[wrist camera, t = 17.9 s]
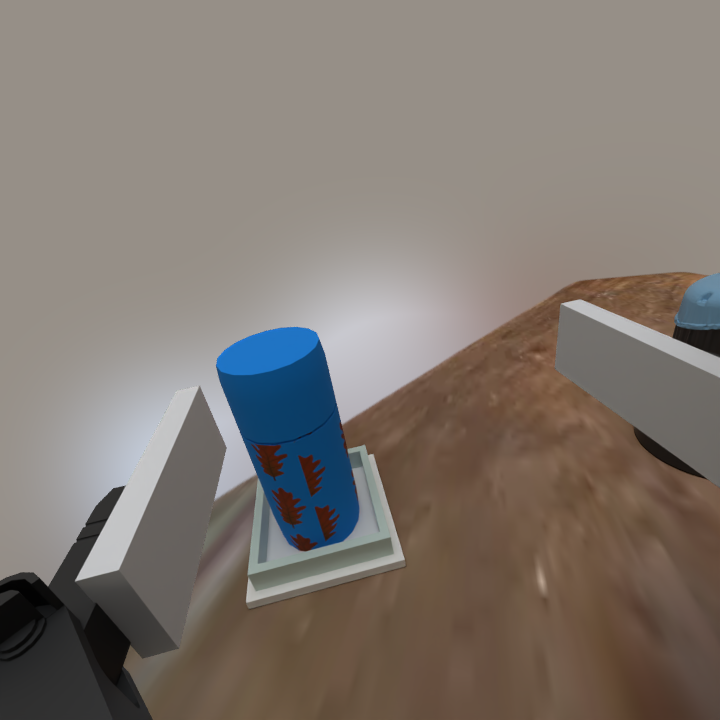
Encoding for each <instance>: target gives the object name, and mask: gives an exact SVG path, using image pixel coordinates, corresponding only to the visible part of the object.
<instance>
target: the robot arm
mask: <svg viewBox="0 0 720 720" xmlns="http://www.w3.org/2000/svg"><path fill="white" fill-rule="evenodd" d="M674 323H676V326H675V330H674V334H673V337H672V338H671V337H669V336H667V335H664V334H662V333H659V332H657V331H655V330H652V329H650V328H647V327H645V326H643V325H640V324H638V323H635V322H633V321H631V320H628V319H626V318H623V317H621V316H619V315H616V314H614V313H611V312H609V311H607V310H604V309H602V308H600V307H597V306H595V305H592V304H590V303H588V302H585V301H583V300H575V301H571V302H567V303H562V304H561V306H560V317H559V328H558V339H557V349H556V360H555V369H556V370H557V371H558V372H560V373H561V374H563V375H564V376H565V377H567V378H568V379H569V380H571V381H572V382H574V383H575V384H576V385H578V386H579V387H581V388H582V389H583V390H585V391H586V392H588V393H589V394H590V395H592V396H593V397H594V398H596V399H597V400H599V401H600V402H601V403H603V404H604V405H606V406H607V407H608V408H610V409H611V410H612V411H614V412H615V413H617V414H618V415H619V416H621V417H622V418H624V419H625V420H626V421H628V422H629V423H631V424H632V425H633V426H634V431H635V434H636V436H637V438H638V440H639V441H640V443H641V444H642V445H643V446H644V447H645V448H646V449H647V450H648V451H649V452H651V453H652V454H653V455H655V456H656V457H658V458H659V459H661V460H663V461H664V462H666V463H668V464H670V465H672V466H674V467H676V468H678V469H681V470H683V471H686V472H689V473H692V474H695V475H698V476H701V477H705V478H707V479H708V480H710V481H711V482H712V483H714V484H715V485H717V486H718V487H719V488H720V273H717V274H713V275H710V276H707V277H704V278H702V279H700V280H698V281H697V282H695V283H693V284H692V285H691V286H690V287H689V288H688V289H687V290H686V292H685V294H684V297H683V300H682V303H681V306H680V309H679V312H678V313H677V314H676V316H675V320H674ZM225 452H226V445H225V443H224V441H223V438H222V436H221V434H220V431H219V429H218V427H217V425H216V423H215V420H214V418H213V415H212V413H211V411H210V409H209V406H208V404H207V402H206V399H205V397H204V395H203V392H202V390H201V388H200V386H196V387H192V388H187V389H182V390H178V391H176V393H175V395H174V397H173V399H172V401H171V402H170V404H169V406H168V408H167V410H166V412H165V414H164V416H163V417H162V420H161V421H160V423H159V425H158V427H157V429H156V431H155V432H154V434H153V436H152V438H151V440H150V442H149V444H148V446H147V447H146V449H145V451H144V453H143V455H142V457H141V459H140V461H139V462H138V464H137V466H136V468H135V470H134V472H133V474H132V475H131V477H130V479H129V481H128V483H127V485H126V486H122V487H118V488H113V489H112V490H111V491H110V492H109V493H108V495H107V496H106V497H104V498H103V499H102V501H100V502H99V503H98V505H97V506H96V507H95V509H94V510H93V512H92V514H91V515H90V517H89V519H88V521H87V522H86V527H84V528H83V529H82V531H81V532H80V534H79V536H78V537H77V542H76V543H74V544H73V546H72V547H71V549H70V551H69V552H68V554H67V556H66V558H65V559H64V561H63V563H62V564H61V566H60V568H59V569H58V571H57V573H56V574H55V576H54V578H53V580H52V581H51V583H50V585H49V586H47V585H46V584H45V583H44V582H43V581H42V580H41V579H40V578H39V577H37V575H35V574H34V573H24V572H23V573H19V574H16V575H13V576H10V577H7V578H5V579H3V580H1V581H0V720H153V719H152V717H151V715H150V713H149V711H148V709H147V707H146V705H145V703H144V701H143V699H142V697H141V695H140V693H139V691H138V689H137V687H136V685H135V683H134V681H133V679H132V677H131V675H130V673H129V672H128V671H127V670H126V669H125V668H124V667H123V664H124V661H125V658H126V655H127V652H128V650H129V647H130V645H131V646H132V647H133V648H134V649H135V650H136V652H137V653H138V654H139V655H140V656H141V657H142V658H146V657H150V656H154V655H157V654H161V653H164V652H168V651H172V650H175V649H179V646H180V642H181V638H182V634H183V629H184V625H185V621H186V617H187V612H188V608H189V604H190V600H191V596H192V591H193V587H194V583H195V579H196V574H197V570H198V566H199V562H200V558H201V553H202V549H203V545H204V541H205V536H206V532H207V528H208V524H209V520H210V515H211V511H212V507H213V503H214V498H215V494H216V490H217V486H218V482H219V477H220V473H221V469H222V465H223V460H224V456H225Z"/></svg>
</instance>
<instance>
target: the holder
mask: <svg viewBox="0 0 720 720" xmlns="http://www.w3.org/2000/svg"><path fill="white" fill-rule="evenodd" d="M347 450H348V454H349V458H350V463H351V467H352V471H353V475H354V480H355V484H356V488H357V495H358V501H359V508H360V509H359V520H358V522H357V524H356V526H355V528H354V530H353V532H352V533H351V534H350V535H349V536H348V537H347V538H346V539H345V540H344V541H343V542H340V543H336V544H332V545H328V546H325V547H321V548H317V549H313V550H309V551H306V552H305V551H299V550H298V549H296V548H294V547H293V546H291V545H289V543H288V542H287V540H286V538H285V537H284V535H283V533H282V531H281V529H280V527H279V525H278V523H277V521H276V519H275V517H274V515H273V513H272V510H271V508H270V505H269V503H268V500H267V498H266V495H265V493H264V490H263V488H262V485H261V483H260V481H259V478H258V484H257V493H256V502H255V511H254V521H253V530H252V539H251V549H250V558H249V567H248V577H249V579H248V588H247V598H246V604H247V606H248V608H249V609H252V608H255V607H259V606H263V605H266V604H270V603H273V602H277V601H281V600H284V599H288V598H292V597H295V596H299V595H303V594H306V593H310V592H314V591H317V590H321V589H325V588H328V587H332V586H336V585H339V584H343V583H346V582H350V581H354V580H357V579H361V578H365V577H368V576H372V575H376V574H379V573H383V572H387V571H390V570H394V569H398V568H401V567H405V566H406V564H405V559H404V556H403V552H402V549H401V546H400V542H399V539H398V536H397V532H396V529H395V526H394V522H393V519H392V516H391V512H390V509H389V506H388V502H387V499H386V496H385V492H384V489H383V486H382V482H381V479H380V476H379V472H378V469H377V466H376V462H375V459H374V456H373V454H371V455H368V454H367V451H366V447H365V445H363V446H359V447H355V448H351V449H347Z"/></svg>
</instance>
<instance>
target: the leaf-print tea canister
mask: <svg viewBox="0 0 720 720" xmlns="http://www.w3.org/2000/svg"><path fill="white" fill-rule="evenodd" d="M216 368H217V371H218V376H219V380H220V383H221V386H222V388H223V391H224V393H225V396H226V398H227V401H228V403H229V406H230V408H231V411H232V413H233V416H234V418H235V421H236V423H237V426H238V428H239V430H240V433H241V435H242V438H243V441H244V443H245V445H246V448H247V450H248V453H249V455H250V458H251V461H252V463H253V465H254V468H255V470H256V473H257V476H258V478H259V481H260V483H261V485H262V488H263V490H264V493H265V495H266V498H267V500H268V503H269V505H270V508H271V510H272V513H273V515H274V517H275V519H276V521H277V523H278V525H279V527H280V529H281V531H282V533H283V535H284V537H285V538H286V540H287V542H288V543H289V545H291V546H293V547H294V548H296V549H298V550H299V551H305V552H306V551H309V550H313V549H317V548H321V547H325V546H328V545H332V544H336V543H340V542H343V541H344V540H345V539H346V538H347V537H348V536H349V535H350V534H351V533H352V532H353V530H354V528H355V526H356V524H357V522H358V520H359V509H360V508H359V501H358V495H357V488H356V484H355V480H354V475H353V471H352V467H351V463H350V458H349V454H348V450H347V446H346V441H345V437H344V433H343V429H342V424H341V420H340V416H339V412H338V407H337V403H336V399H335V395H334V391H333V386H332V382H331V378H330V374H329V369H328V365H327V361H326V357H325V353H324V350H323V348H322V345H321V342H320V340H319V337H318V335H317V333H316V332H314V331H312V330H310V329H307V328H300V327H287V328H278V329H273V330H268V331H264V332H261V333H258V334H255V335H252V336H249V337H247V338H245V339H242V340H240V341H238V342H236V343H234V344H233V345H231V346H230V347H229V348H227V349H226V350H224V352H223V353H222V354H221V355H220V356H219V357H218V358H217V364H216Z"/></svg>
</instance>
